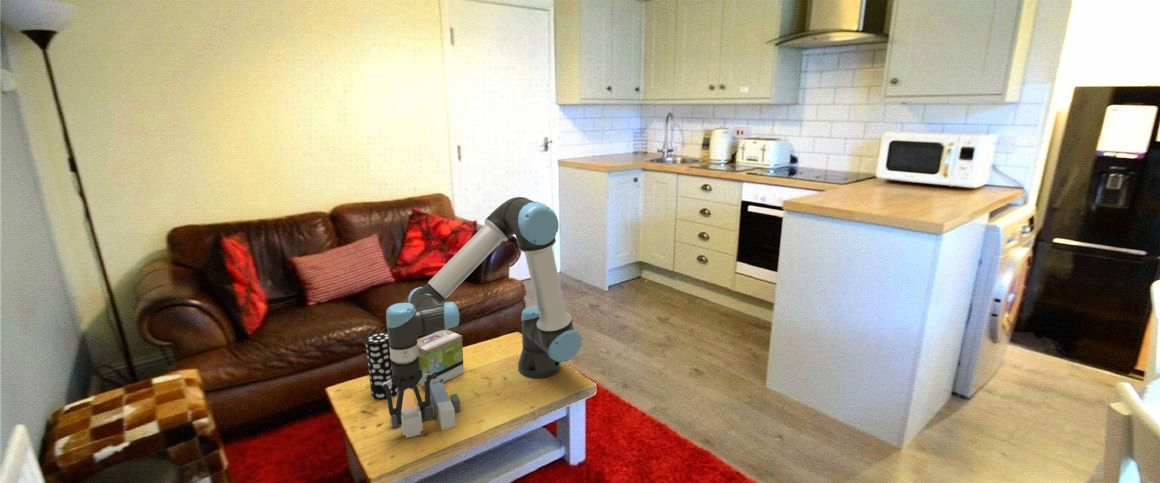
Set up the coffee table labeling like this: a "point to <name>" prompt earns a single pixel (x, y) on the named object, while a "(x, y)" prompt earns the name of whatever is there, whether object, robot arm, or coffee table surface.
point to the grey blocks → (431, 410)
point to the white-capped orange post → (410, 415)
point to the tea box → (441, 356)
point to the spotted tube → (379, 364)
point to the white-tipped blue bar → (442, 406)
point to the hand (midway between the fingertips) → (412, 430)
